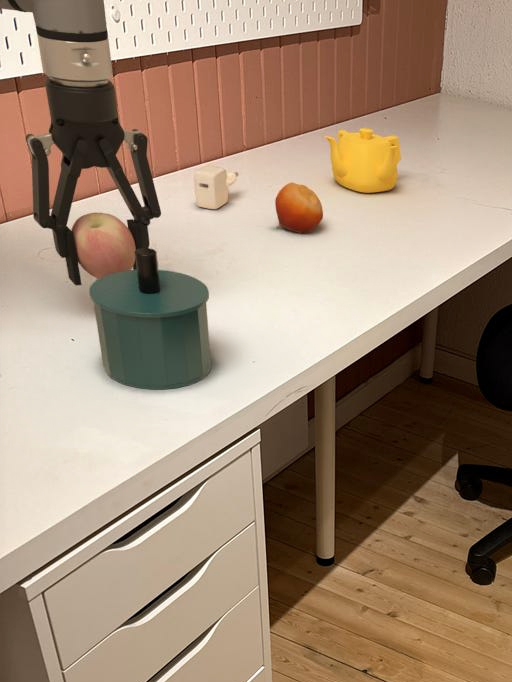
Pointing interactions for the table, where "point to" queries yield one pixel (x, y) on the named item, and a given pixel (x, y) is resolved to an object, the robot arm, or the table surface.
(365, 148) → the teapot
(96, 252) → the apple
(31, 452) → the table surface
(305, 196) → the fruit
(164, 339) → the pot
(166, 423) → the table surface
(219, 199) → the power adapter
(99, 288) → the pot lid
